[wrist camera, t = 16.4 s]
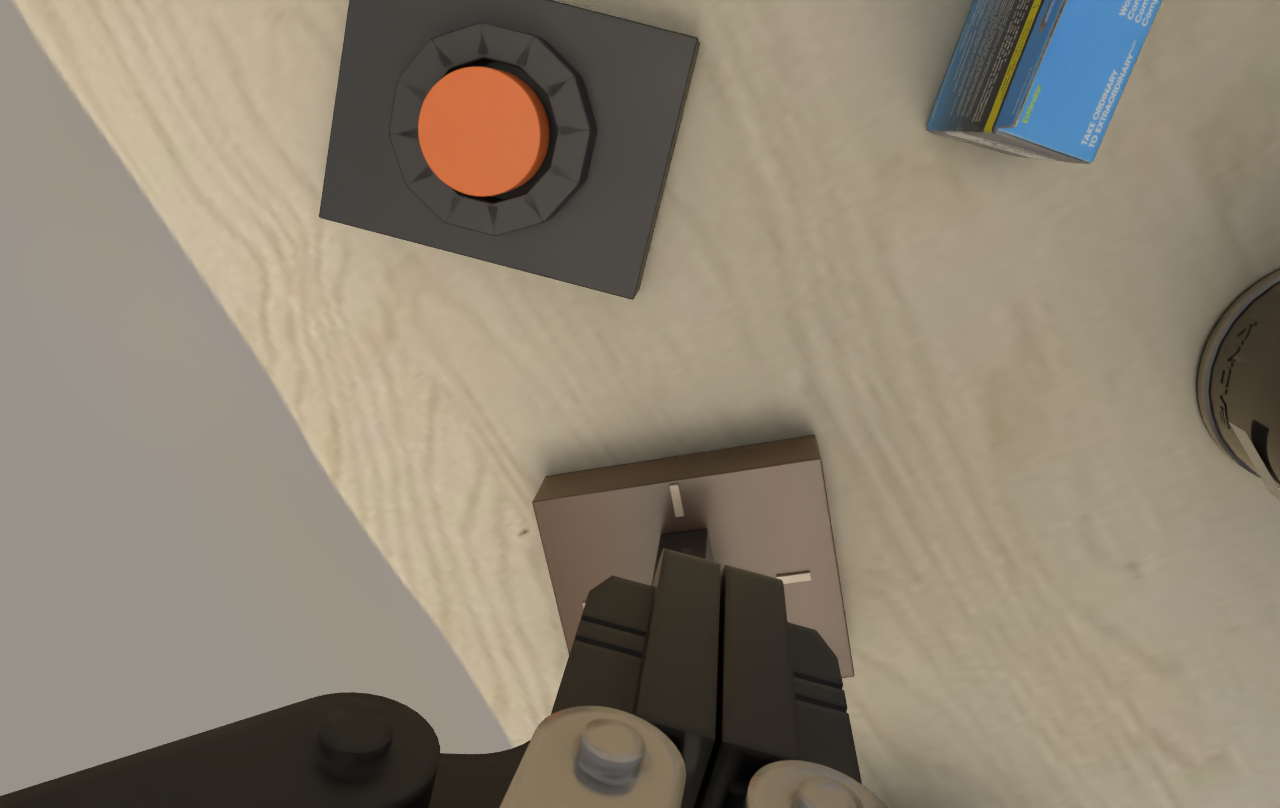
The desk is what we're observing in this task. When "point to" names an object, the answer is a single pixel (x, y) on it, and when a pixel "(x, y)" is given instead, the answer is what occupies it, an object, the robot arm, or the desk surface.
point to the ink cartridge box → (1041, 75)
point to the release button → (483, 131)
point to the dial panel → (700, 527)
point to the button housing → (578, 143)
